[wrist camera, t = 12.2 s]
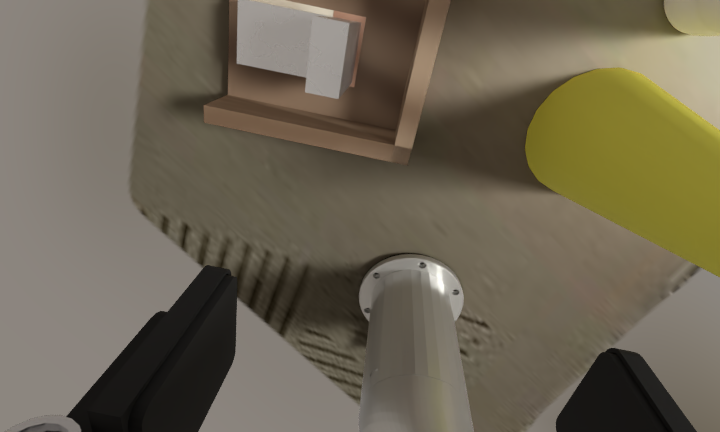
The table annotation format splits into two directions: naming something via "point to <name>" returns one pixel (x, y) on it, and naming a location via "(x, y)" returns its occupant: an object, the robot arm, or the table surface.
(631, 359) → the robot arm
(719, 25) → the water bottle
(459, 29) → the table surface
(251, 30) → the bracket
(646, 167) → the cone
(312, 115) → the tray
